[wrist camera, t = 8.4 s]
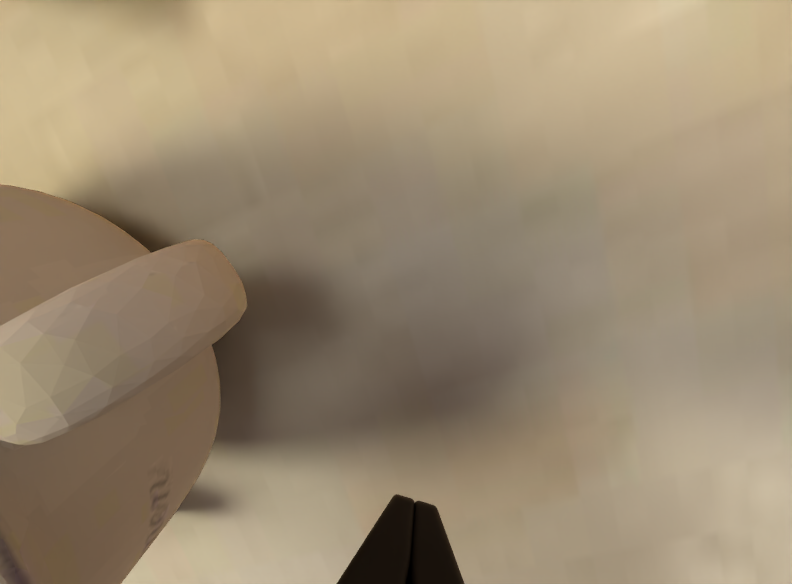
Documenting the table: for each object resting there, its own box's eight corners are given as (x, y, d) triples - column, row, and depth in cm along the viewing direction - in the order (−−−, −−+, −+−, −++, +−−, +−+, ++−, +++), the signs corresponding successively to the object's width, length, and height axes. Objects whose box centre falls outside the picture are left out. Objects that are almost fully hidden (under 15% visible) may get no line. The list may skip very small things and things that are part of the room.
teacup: (68, 473, 17) (-241, 748, 9) (-115, 211, 13) (-828, 316, 6) (400, 419, 14) (332, 767, 6) (272, 57, 10) (-216, -130, 3)
